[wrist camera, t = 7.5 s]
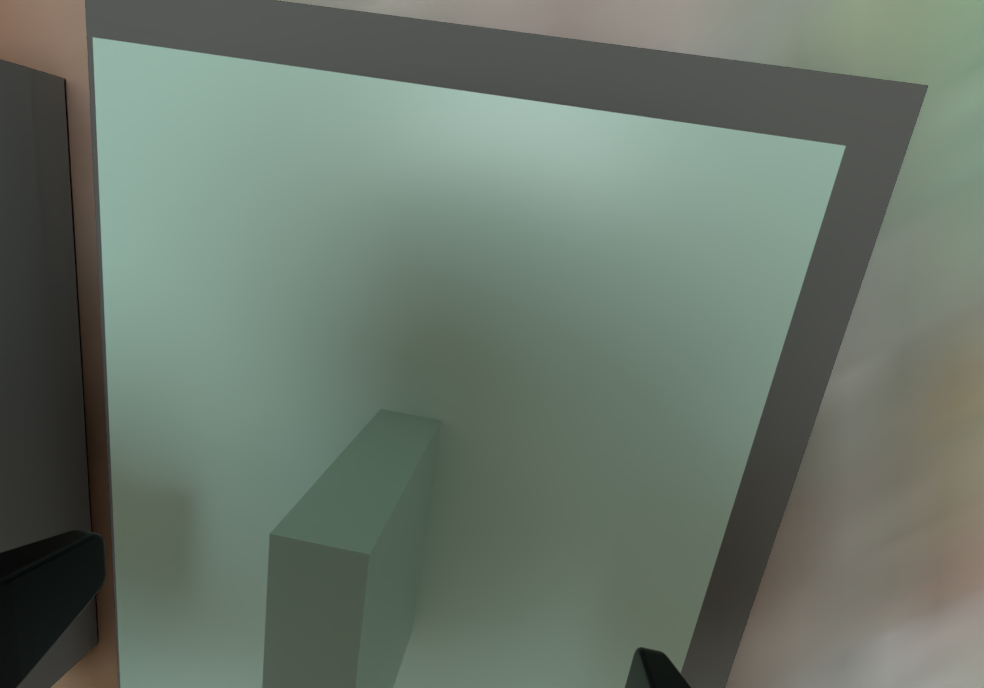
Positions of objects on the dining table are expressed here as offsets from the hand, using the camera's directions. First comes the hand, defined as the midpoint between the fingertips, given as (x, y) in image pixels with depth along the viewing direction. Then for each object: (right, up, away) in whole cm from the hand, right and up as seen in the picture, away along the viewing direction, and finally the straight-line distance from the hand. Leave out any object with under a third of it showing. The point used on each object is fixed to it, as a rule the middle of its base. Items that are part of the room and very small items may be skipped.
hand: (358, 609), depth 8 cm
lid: (0, +1, +4) cm, 4 cm away
